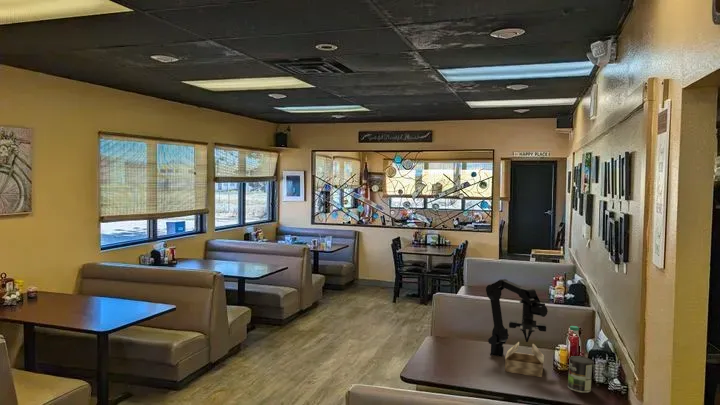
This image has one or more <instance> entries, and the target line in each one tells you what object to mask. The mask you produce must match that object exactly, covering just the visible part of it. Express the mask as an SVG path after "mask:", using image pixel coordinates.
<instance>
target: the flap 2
mask: <svg viewBox="0 0 720 405" xmlns="http://www.w3.org/2000/svg"><path fill="white" fill-rule="evenodd" d="M531 345H532V346H531V351H530V352H531V353H532V355H535V356H536V358H537V359H538V360H539V361H540V362H541V363H542V364H543V365H544V362H545V361H544V359H545V355H544V354H543V353H542V351H540V350H539V348H538V347H537V346H536V344H534V343H532V344H531Z"/></svg>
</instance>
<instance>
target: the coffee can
mask: <svg viewBox="0 0 720 405" xmlns="http://www.w3.org/2000/svg"><path fill="white" fill-rule="evenodd" d="M593 362H594V361H593V359H591V358H588V357H585V356H571V357H569V364H568V365H569V366H568V376H567V378H568V379H567V388H568V389H569V390H570V391H573V392H577V393H582V394H583V393H585V394H586V393H590V392H591V391H592V388H591V387H592V373H593V372H592V371H593V364H594V363H593Z"/></svg>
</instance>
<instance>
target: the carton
mask: <svg viewBox="0 0 720 405" xmlns="http://www.w3.org/2000/svg"><path fill="white" fill-rule="evenodd" d="M504 360H505V363H504V372H507V373H513V374H518V375H519V374H521V375H525V376H532V377H539V378H543V371H544V370H543V369H544V368H543V366H544V363H543V364H542V363H541V362H540V361H539V360H538V359H537V358H536V356H535V355H534V354H529V353H523V352H517V351H516V352H514V353H513V354H512V355H510V356H509V357H508V358H507V359H504Z"/></svg>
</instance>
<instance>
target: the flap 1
mask: <svg viewBox="0 0 720 405" xmlns="http://www.w3.org/2000/svg"><path fill="white" fill-rule="evenodd" d="M519 346H520V341H518V342H516V343H515V344H514V345H513V346H511V348H509V349H508V350H507V351H506V354H505V358H504V360H506V359H507V358H508V357H509V356H510V355H512V354H513V353H514V352H517V351H518V349H519Z"/></svg>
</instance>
